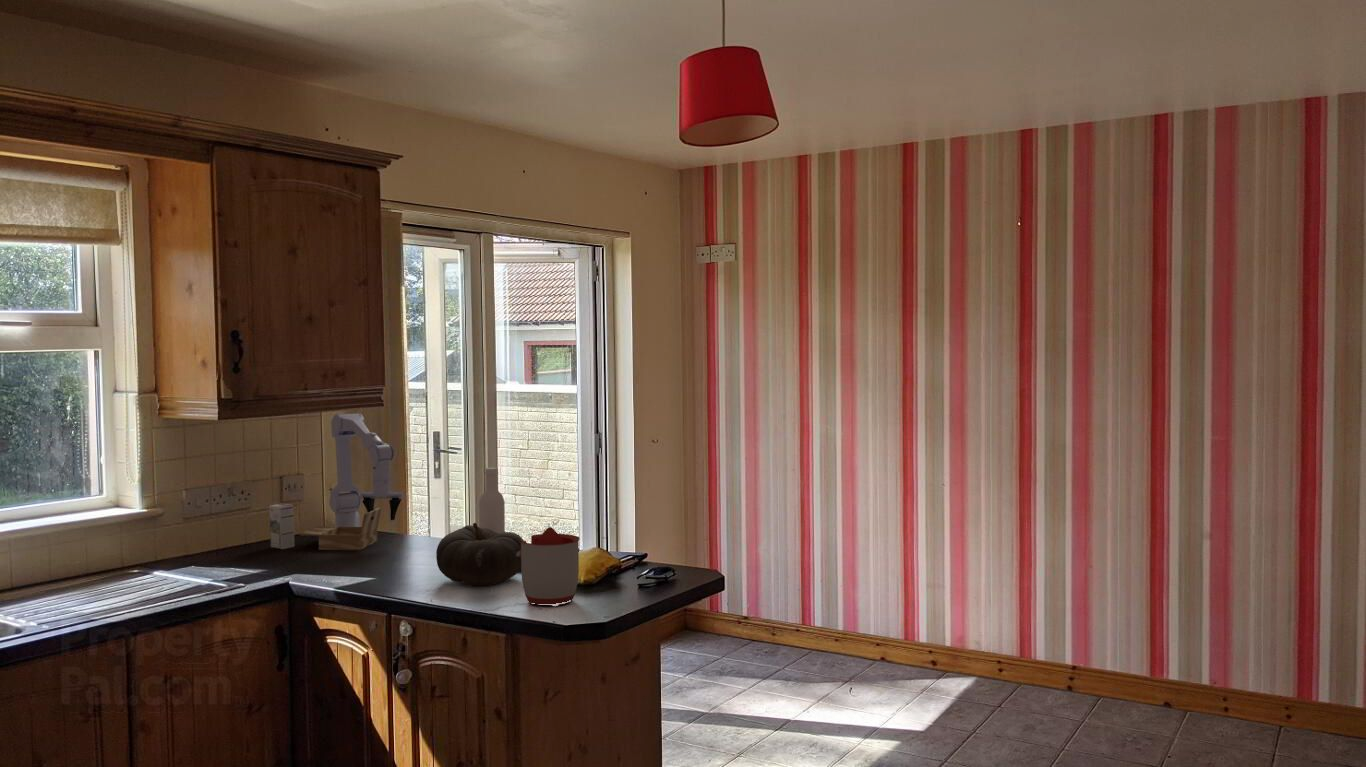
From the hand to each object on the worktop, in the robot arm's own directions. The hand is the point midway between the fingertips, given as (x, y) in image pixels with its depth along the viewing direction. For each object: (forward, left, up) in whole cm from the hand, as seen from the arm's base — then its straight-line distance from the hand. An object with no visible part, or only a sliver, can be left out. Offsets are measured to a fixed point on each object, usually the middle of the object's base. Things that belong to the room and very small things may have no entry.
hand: (382, 519), depth 353 cm
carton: (0, -15, -9) cm, 18 cm away
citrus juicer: (+73, +72, -9) cm, 103 cm away
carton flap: (0, -4, 0) cm, 4 cm away
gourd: (+49, +48, -9) cm, 69 cm away
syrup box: (+5, -33, -9) cm, 34 cm away
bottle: (+27, +45, -9) cm, 53 cm away
